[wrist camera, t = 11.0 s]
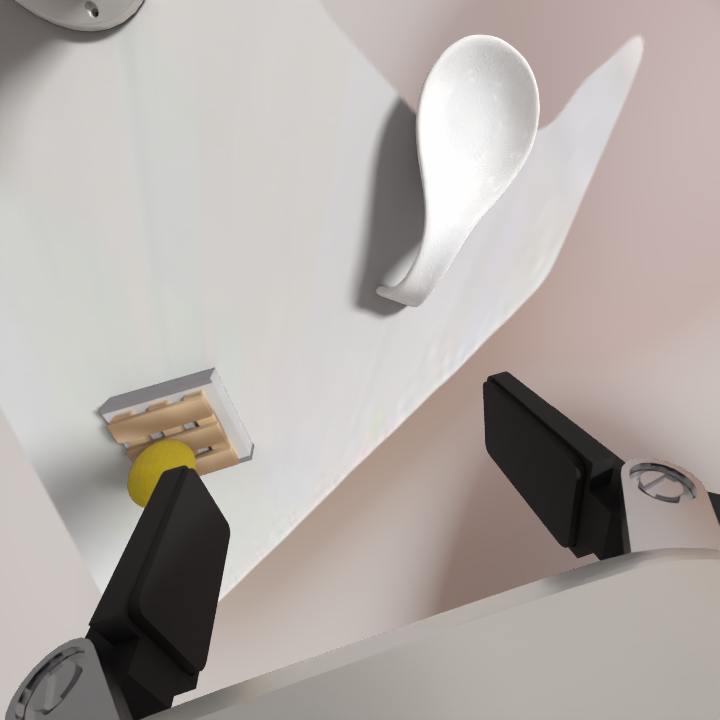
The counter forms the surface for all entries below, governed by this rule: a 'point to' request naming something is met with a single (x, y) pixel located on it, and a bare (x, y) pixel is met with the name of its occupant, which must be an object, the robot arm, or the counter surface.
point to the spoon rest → (466, 149)
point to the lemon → (156, 467)
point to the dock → (176, 393)
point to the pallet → (178, 431)
